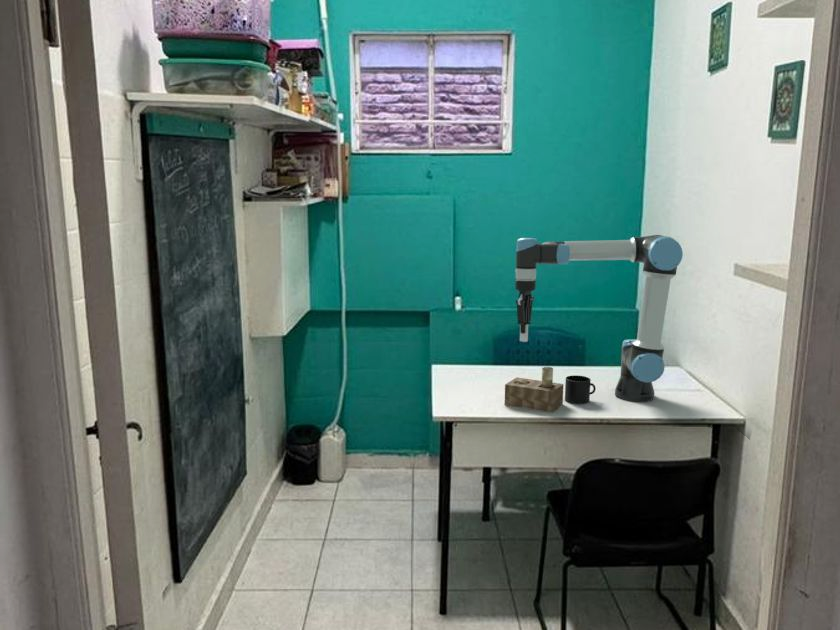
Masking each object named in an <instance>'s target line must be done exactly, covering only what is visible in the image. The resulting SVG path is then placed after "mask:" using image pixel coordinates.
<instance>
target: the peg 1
mask: <svg viewBox="0 0 840 630" xmlns="http://www.w3.org/2000/svg"><path fill="white" fill-rule="evenodd" d="M517 384H522V385H527V380H517Z"/></svg>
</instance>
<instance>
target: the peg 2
mask: <svg viewBox="0 0 840 630" xmlns="http://www.w3.org/2000/svg"><path fill="white" fill-rule="evenodd" d="M553 376H554V368H553V367H551V366H543V367H541V381H542V388H549V389H552V383H554V382H553V381H554V380H553V378H554V377H553Z"/></svg>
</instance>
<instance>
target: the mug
mask: <svg viewBox="0 0 840 630" xmlns="http://www.w3.org/2000/svg"><path fill="white" fill-rule="evenodd" d="M591 381H592V380H591V378H590V377H588V376H584V375H575V374H574V375H568V376H566V377H565V383H564V384H565V385H564V386H565V388H564V401H565V402H567V403H570V404H574V405H585V404H588V403H589V402H590V395H593V394H594V393H595V392H596V385H595V384H594V383H593V382H591ZM591 386H592V389H593V390H592V391H591Z"/></svg>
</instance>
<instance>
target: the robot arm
mask: <svg viewBox="0 0 840 630" xmlns="http://www.w3.org/2000/svg"><path fill="white" fill-rule="evenodd" d="M515 249H516V250H515V252H516V253H515V270H514V273H515V279H516V280H515V282H514V283H515V286H514V288H515V290H516V291H518V292H519V293H518V299H516V300H515V304H516V315H517V316H516V317H517V325H519V342H523V343H525V342H526V343H528V341H529V325H531V324H532V322H531V321H532V313H533V303H534V299H535V297H534V296H533V295H532V291H535V290H536V288H537V287H536V285H537V284H536V279H537V265H542V264H544V265H559V266H560V265H568V264H569V262H570V261H622V260H623V261H628V260H629V261H630V262H631V263H643V268H642V272H643V274H644V275H645V276H646V277H645V283H644V290H643V296H642V297H643V298H642V301H641V302H642V304H641V310H640V317H639V323H638V328H637V329H638V330H637V337H636V339H634V338H633V339H624V340H623V341H622V346H621V359H620V360H621V361H620V362H621V363H620V376H619V378H618V382H617V383H616V387H615V389H614V395H615V397H617V398H618V399H621V400H625V401H629V402H630V401H631V402H649V401H648V400H650V401H652V400H651V399H653V398H654V399H655V389H654V385H653V382H655V381H657V380H659V379H660V378H661V377H662V375H663V374H664V373H665V368H666V367H665V361H664V360H663V359H664V358H663V357H664V351H665V346H664V345H663V344H662V338H663V337H662V336H663V329H664V324H665V317H666V311H667V305H668V298H669V292H670V286H671V280H672V279H673V278H674V277H675V276H676V275H677V271H678V266H679V265H680V264H681V261H682V260H683V256H684V255H683V252H684V251H683V248H682V245H681V244H680V243H679V242H678V241H677V240H676V239H674V237H671V236H665V235H663V234H662V235H660V234H653V235H646V236H633V237H630V239H618V240H615V239H614V240H613V239H612V240H610V239H609V240H604V239H603V240H570V241H569V240H566V241H564V240H563V241H559V240H558V241H557V240H556V241H554V240H547V241H545V242H543V243H539V242H538V239H537V238H532V237H521V238H518V239H517V241H516V248H515ZM654 399H653V400H654Z"/></svg>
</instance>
